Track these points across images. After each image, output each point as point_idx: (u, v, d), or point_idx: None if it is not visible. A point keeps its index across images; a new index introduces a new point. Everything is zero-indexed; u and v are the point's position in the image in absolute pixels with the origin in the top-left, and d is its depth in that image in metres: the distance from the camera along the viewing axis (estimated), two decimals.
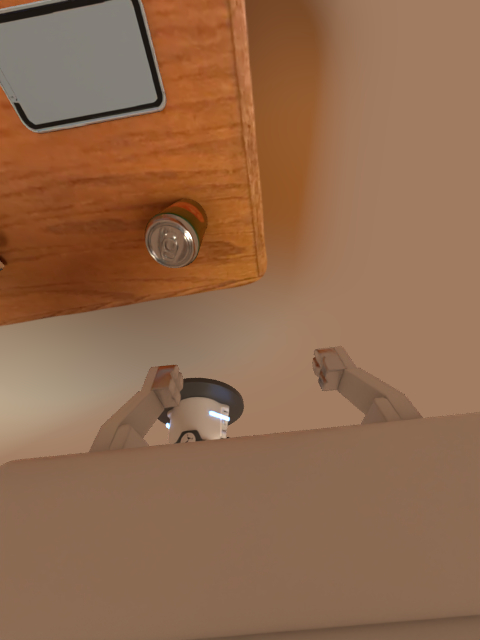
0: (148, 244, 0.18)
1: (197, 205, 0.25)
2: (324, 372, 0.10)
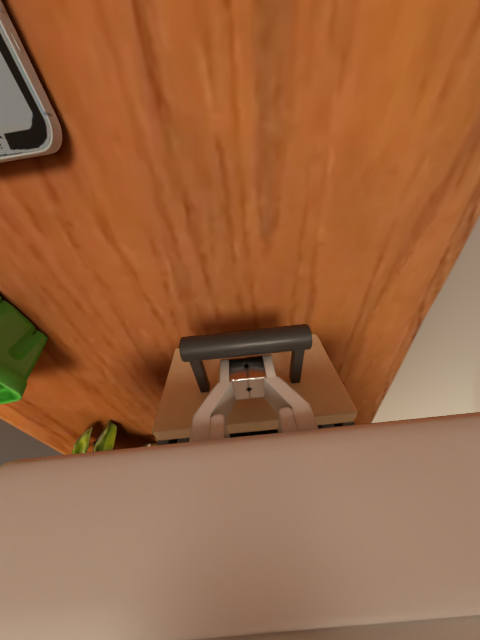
0: None
1: None
2: None
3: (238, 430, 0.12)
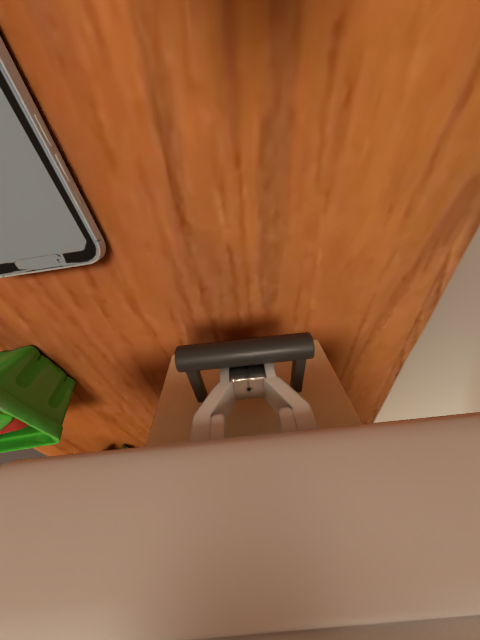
0: None
1: None
2: None
3: None
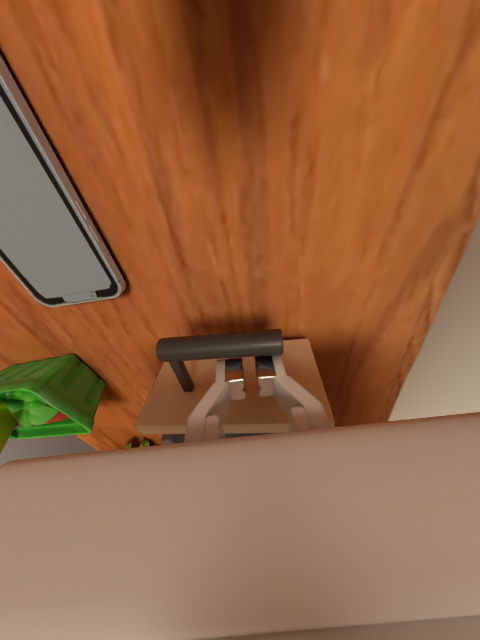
0: None
1: None
2: (257, 379, 0.10)
3: None
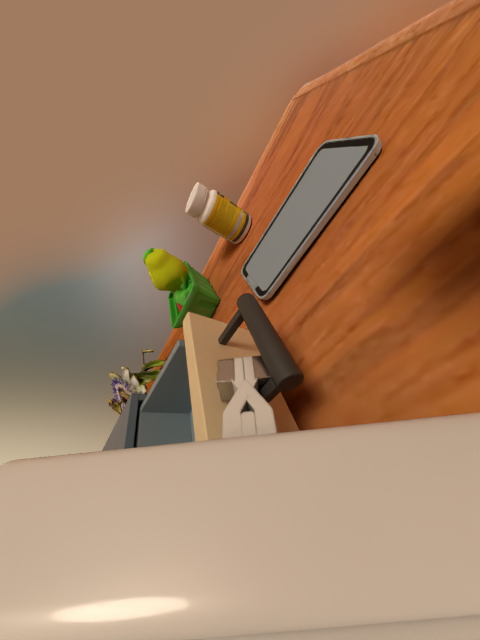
0: None
1: None
2: None
3: (189, 364, 0.13)
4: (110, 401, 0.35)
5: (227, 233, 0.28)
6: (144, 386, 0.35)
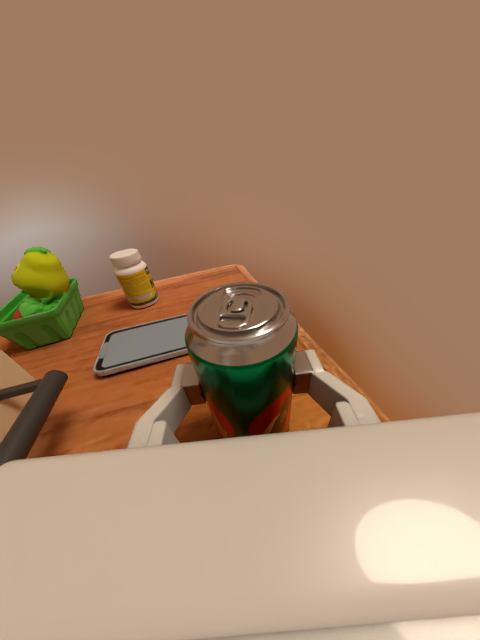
0: (192, 314, 0.08)
1: None
2: None
3: None
4: None
5: (128, 295, 0.31)
6: None
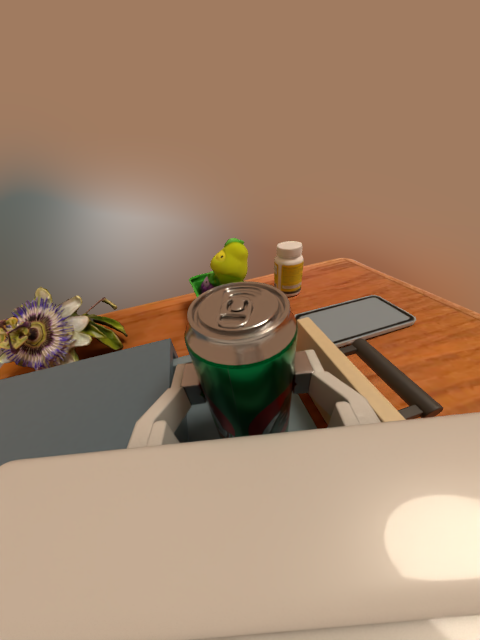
0: (193, 313, 0.08)
1: None
2: None
3: (334, 357, 0.14)
4: (14, 321, 0.21)
5: (285, 284, 0.34)
6: (91, 338, 0.24)
